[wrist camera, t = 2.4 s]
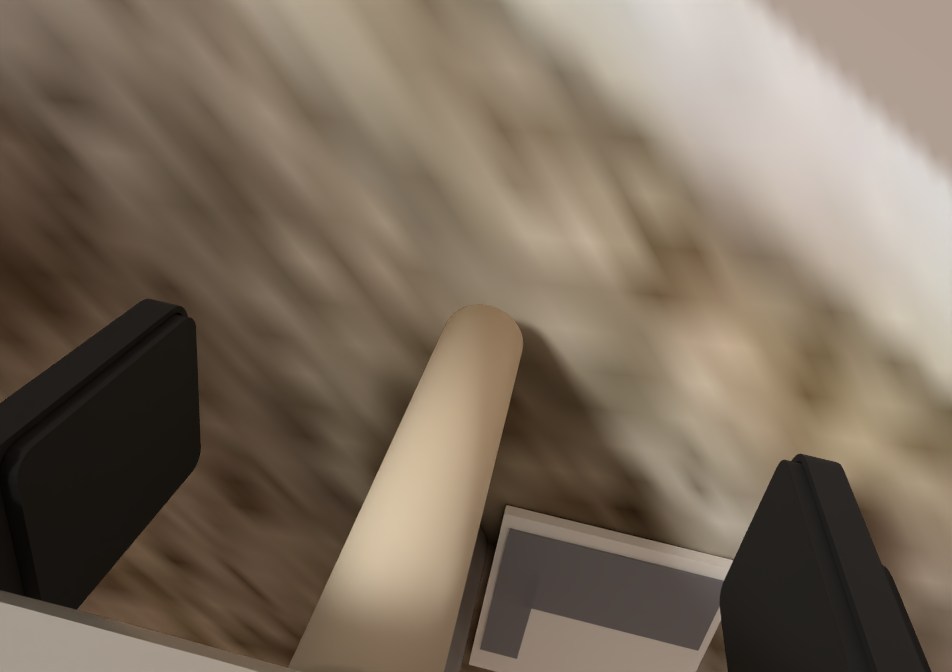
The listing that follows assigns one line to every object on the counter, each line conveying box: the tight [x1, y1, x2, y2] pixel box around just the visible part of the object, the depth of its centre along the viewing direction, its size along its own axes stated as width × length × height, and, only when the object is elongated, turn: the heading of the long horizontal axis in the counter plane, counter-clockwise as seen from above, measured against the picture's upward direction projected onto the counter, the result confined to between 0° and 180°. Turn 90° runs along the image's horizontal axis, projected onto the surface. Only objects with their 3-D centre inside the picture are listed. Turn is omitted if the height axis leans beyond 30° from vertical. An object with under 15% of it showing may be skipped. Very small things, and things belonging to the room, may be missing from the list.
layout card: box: [469, 505, 733, 672], centre depth 18 cm, size 6×6×1 cm
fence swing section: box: [288, 305, 523, 672], centre depth 12 cm, size 6×2×8 cm, turn 171°
